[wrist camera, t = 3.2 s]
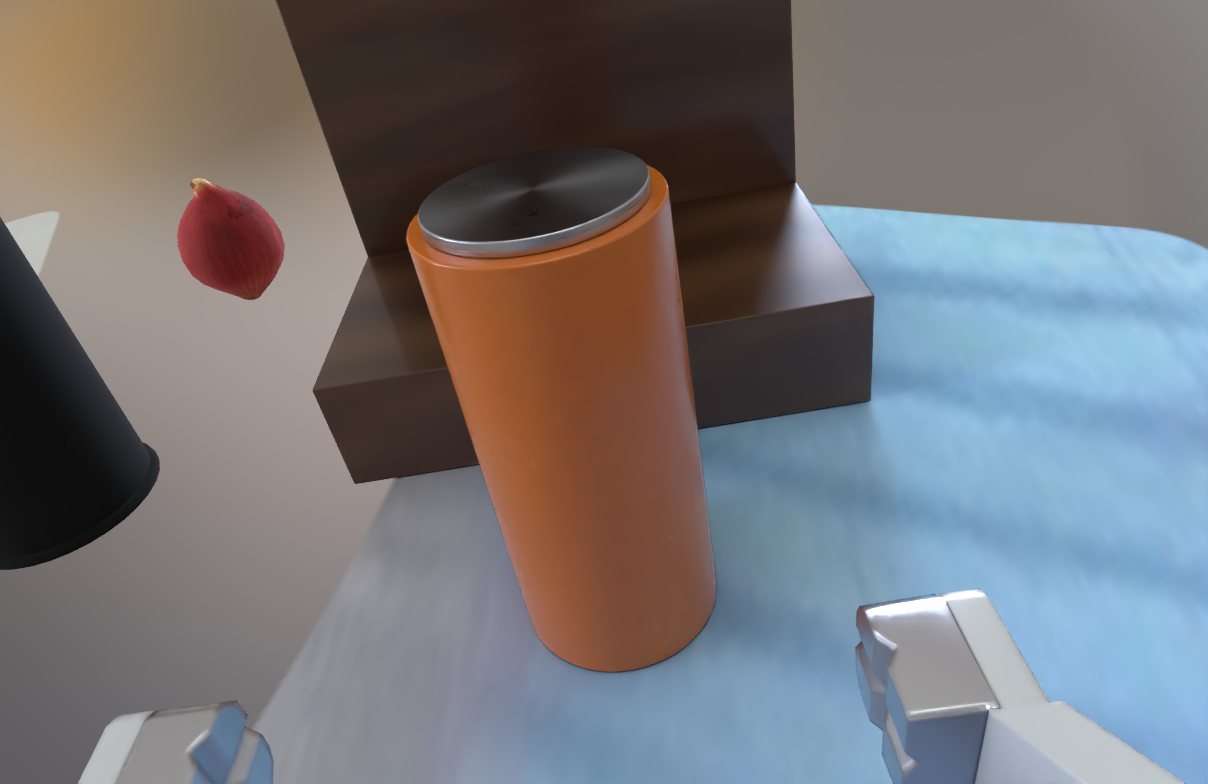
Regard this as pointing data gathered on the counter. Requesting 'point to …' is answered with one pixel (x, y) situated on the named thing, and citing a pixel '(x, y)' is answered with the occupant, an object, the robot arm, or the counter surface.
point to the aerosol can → (57, 430)
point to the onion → (229, 241)
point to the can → (577, 393)
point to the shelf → (572, 119)
